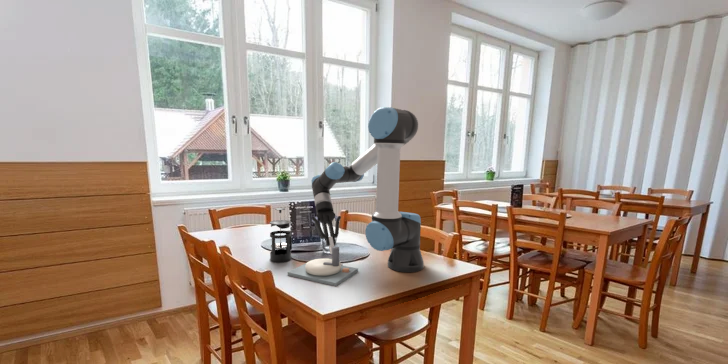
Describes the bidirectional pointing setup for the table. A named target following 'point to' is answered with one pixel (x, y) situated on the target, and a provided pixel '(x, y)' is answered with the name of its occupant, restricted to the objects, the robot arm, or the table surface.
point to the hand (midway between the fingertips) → (332, 252)
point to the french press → (282, 250)
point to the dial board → (328, 279)
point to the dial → (325, 265)
